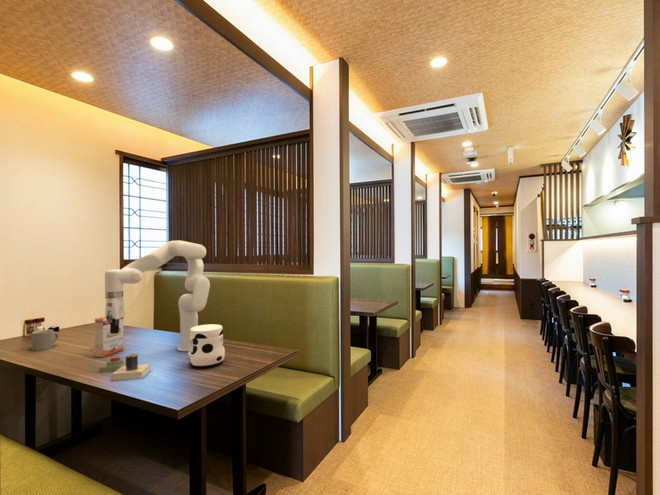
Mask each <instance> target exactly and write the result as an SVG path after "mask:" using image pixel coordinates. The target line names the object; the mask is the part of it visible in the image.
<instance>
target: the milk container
mask: <svg viewBox="0 0 660 495" xmlns="http://www.w3.org/2000/svg"><path fill="white" fill-rule="evenodd" d="M187 352H188V353H187V360H188V363H189V365H190V366H192V367H196V368H207V367H208V368H209V367H214V366H216V365H219V364H221V363H223V361H224V360H225V357H226V350H225V346H224V328H223V325H221V324H214V323H213V324H212V323H211V324H200V325H198V326H195V327H192V328H191V329H190V349H189V351H187Z"/></svg>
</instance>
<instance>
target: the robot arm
mask: <svg viewBox="0 0 660 495" xmlns="http://www.w3.org/2000/svg"><path fill="white" fill-rule="evenodd" d="M206 255H207V249H206V247H205V246H204V245H203V244H199V243H195V242H190V241H185V240H181V239H179V240H170V241H168V242H166V243H164V244H162V245H161V246H159V247H158V248H156V249H155V250H153V251H152V252H150V253H148V254H146V255H144V256H142V257H140V258H138V259H136V260H134V261H132V262H130V263H128V264H126V265H125V266H124V267H122V268H121V269H108V270H105V271H104V299H105V309H104V314H105V317H106V319H107V320H108V323H110V333H111V334H114V333H119V320H120V319H121V317H123V316H124V317H125V314H126V312H125V301H124V284H128V285H129V284H130V285H131V284H132V285H134V284H137V283H140V281H142V279H143V273H145V272H147V271H151V270H154V269H155V270H156V269H157V268H160V267H162V266H163V265H165V264H166V263H167V262H169V261H171V260H172V259H174V258H175V257H183V258H184V259H185V260H186V262H187V265H188V266H187V273H186V276H185V280H184V288H185V290H187V291H188V292H192V293H184V294H182V295H181V296H180V297H179V298H178V302H177V305H178V311H179V338H180V342H179V343H180V344H179V346H178V347H177V351H179V352H189V349H190V329H191V328H192V327H195V326H199V314H198V313H199V312H202V311H203V310H204V309H205V308H206V305H207V302H208V297H209V293H210V289H211V283H210V280H209V278H208V277H207V276H206V275H204V274H203V273H204V268H205V265H204V261H203V260H202V259H204V258H205V257H206Z"/></svg>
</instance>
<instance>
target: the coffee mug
mask: <svg viewBox="0 0 660 495" xmlns="http://www.w3.org/2000/svg"><path fill="white" fill-rule="evenodd" d="M59 338H60V333H59V332H57V331H54V329H41V330H34V331H32V332H31V351H33V352H39V351H40V352H41V351H46V350H50V349H53V348H54V346H55V342H57V341H58V340H59Z"/></svg>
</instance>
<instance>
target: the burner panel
mask: <svg viewBox="0 0 660 495" xmlns="http://www.w3.org/2000/svg"><path fill="white" fill-rule="evenodd" d="M150 371H151V364H150V363H148V364H138V368H137V369H135V370H129V371H128V370H126V366H122V367H121V368H119V369H118V370H117V371H113V373H111V375H112V381H125V380H137V379H138V380H139V379H143V378H144V377H145V376H146V375H147V374H148V373H149V372H150Z"/></svg>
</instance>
